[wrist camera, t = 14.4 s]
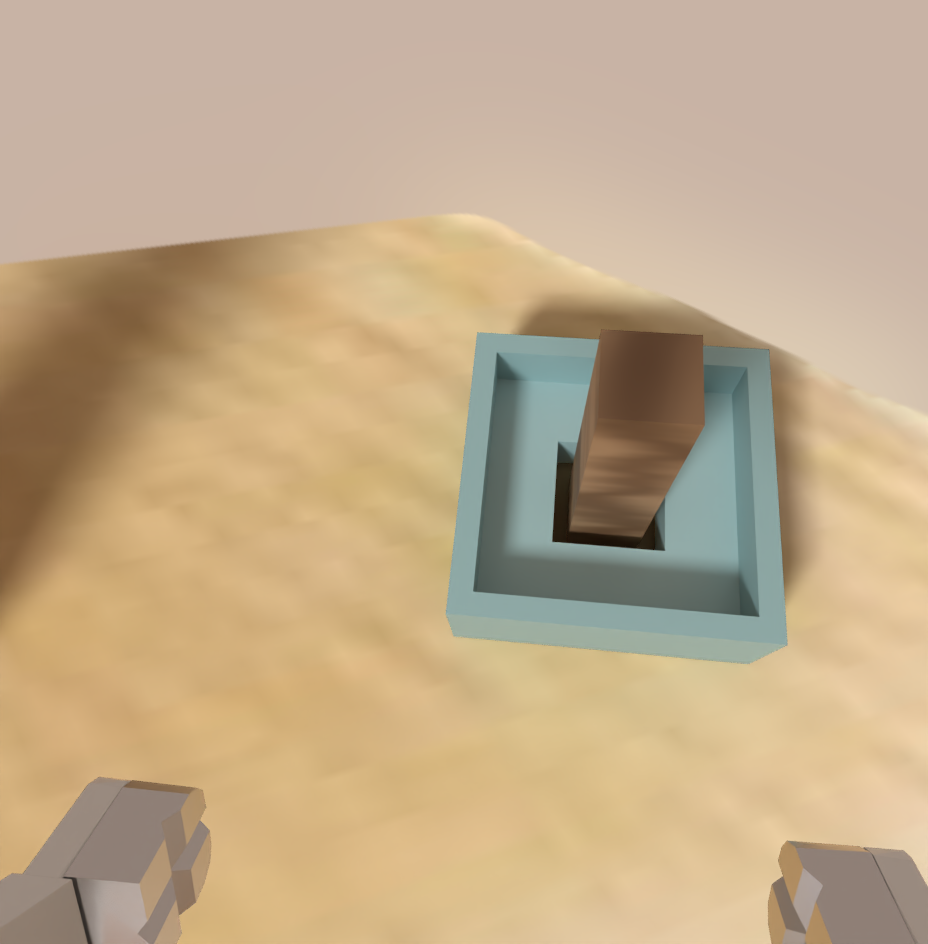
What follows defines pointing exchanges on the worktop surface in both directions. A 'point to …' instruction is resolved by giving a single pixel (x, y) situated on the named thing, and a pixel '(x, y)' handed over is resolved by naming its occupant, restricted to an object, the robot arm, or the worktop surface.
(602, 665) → the worktop surface
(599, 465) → the peg
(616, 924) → the worktop surface
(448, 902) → the worktop surface
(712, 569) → the socket
